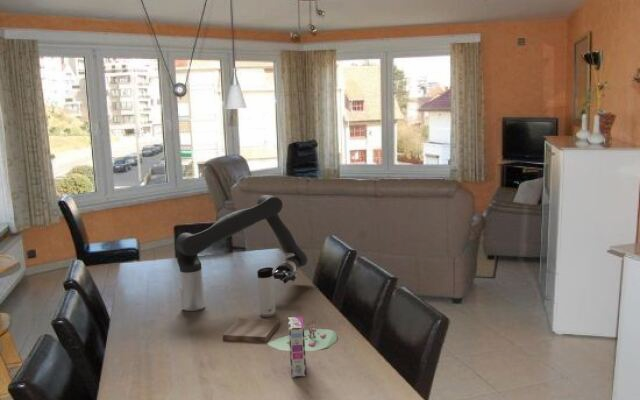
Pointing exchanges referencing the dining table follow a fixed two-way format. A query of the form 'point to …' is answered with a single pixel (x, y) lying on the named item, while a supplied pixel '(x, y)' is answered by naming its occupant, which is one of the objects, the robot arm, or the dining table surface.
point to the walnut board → (251, 330)
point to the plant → (309, 339)
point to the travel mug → (266, 292)
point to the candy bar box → (297, 347)
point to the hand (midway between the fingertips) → (274, 281)
